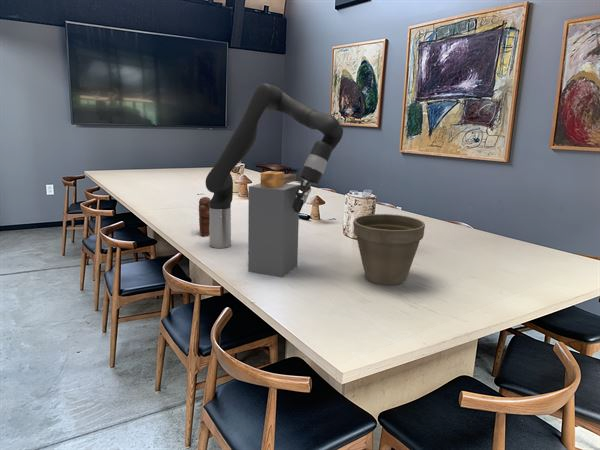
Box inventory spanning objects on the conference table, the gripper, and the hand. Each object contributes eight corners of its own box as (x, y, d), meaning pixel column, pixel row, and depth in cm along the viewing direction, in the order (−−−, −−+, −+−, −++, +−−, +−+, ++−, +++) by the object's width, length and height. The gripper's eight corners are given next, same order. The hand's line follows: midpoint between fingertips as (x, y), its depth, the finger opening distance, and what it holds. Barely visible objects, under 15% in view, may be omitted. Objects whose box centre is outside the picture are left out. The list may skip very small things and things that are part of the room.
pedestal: (248, 271, 173) (248, 186, 166) (265, 261, 186) (266, 181, 179) (282, 277, 168) (284, 189, 161) (297, 266, 181) (299, 184, 174)
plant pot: (366, 293, 155) (370, 230, 150) (341, 269, 179) (343, 214, 174) (432, 288, 162) (439, 227, 157) (399, 266, 185) (404, 212, 180)
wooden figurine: (214, 236, 221) (213, 199, 217) (200, 237, 219) (199, 199, 215) (211, 230, 232) (211, 194, 228) (198, 231, 230) (197, 195, 226)
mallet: (260, 186, 166) (260, 172, 165) (285, 179, 186) (285, 167, 185) (275, 188, 164) (275, 174, 163) (299, 181, 184) (299, 168, 182)
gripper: (305, 170, 176) (288, 209, 174) (302, 160, 161) (283, 203, 160) (323, 177, 175) (306, 217, 174) (322, 169, 161) (303, 211, 159)
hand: (295, 210), depth 167 cm, fingers open, 8 cm apart
